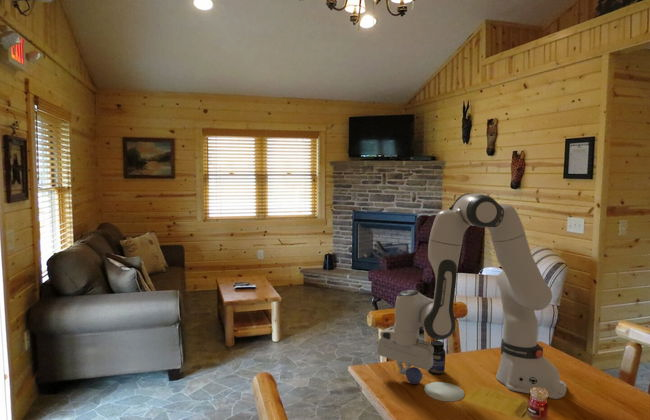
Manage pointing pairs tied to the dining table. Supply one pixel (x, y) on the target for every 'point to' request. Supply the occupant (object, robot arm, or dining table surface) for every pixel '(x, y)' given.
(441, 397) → the disc
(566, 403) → the dining table surface
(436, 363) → the pill bottle
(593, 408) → the dining table surface
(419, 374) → the ball
